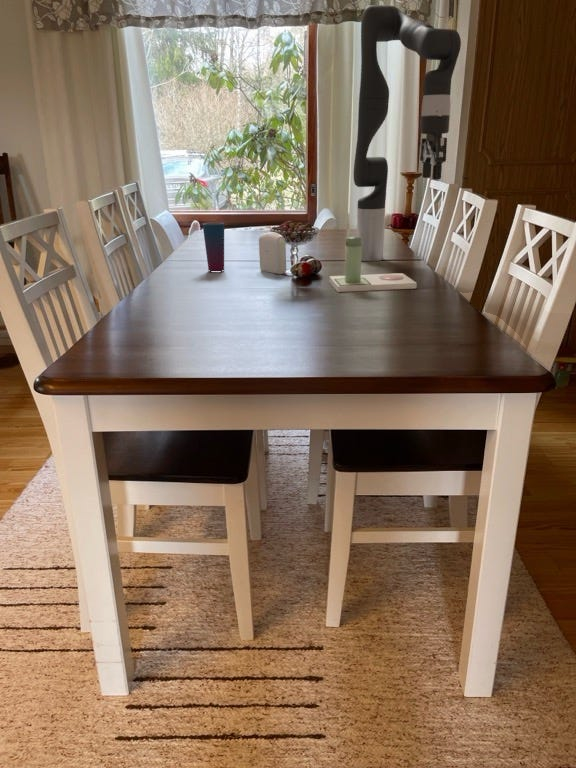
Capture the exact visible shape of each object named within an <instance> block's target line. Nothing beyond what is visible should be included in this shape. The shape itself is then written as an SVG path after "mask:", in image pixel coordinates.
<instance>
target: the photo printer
mask: <svg viewBox="0 0 576 768" xmlns="http://www.w3.org/2000/svg"><path fill="white" fill-rule="evenodd" d="M286 248H287V246H286V239H285V237H284V236H283V235H281V234H280V233H277V232H275V231H274V232H273V231H269V232H264V233H261V234H260V236H259V238H258V251H259V268H260V271H263V272H268V273H273V274H276V275H283V274H286V272H287V252H286V251H287V249H286Z"/></svg>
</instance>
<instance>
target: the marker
mask: <svg viewBox="0 0 576 768" xmlns="http://www.w3.org/2000/svg"><path fill="white" fill-rule="evenodd" d="M344 247H345V251H344V252H345V253H344V255H345V256H344V257H345V258H344V259H345V260H344V276H345V282H347V283H359V282H361V275H362V261H361V249H362V237H357V235H356V236H353V235H352V236H346V237H345V245H344Z"/></svg>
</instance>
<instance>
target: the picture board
mask: <svg viewBox="0 0 576 768" xmlns="http://www.w3.org/2000/svg"><path fill="white" fill-rule="evenodd" d="M328 280H329V281H328V282H329V283H330V284H331V286H333V288H334V289H335V290H336V291H337V292H338V293H341V292H343V293H346V292H364V291H385V290H387V291H388V290H409V289H417V284H418V283H417V282H416V281H414V280H413V279H412V278H410V277H409V276H407V275H406V274H405V273H402V272H401V273H400V272H399V273H394V272H393V273H376V274H375V273H374V274H373V273H372V274H361V282H359V283H347V282H345V275H330V276H329V277H328Z"/></svg>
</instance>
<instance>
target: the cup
mask: <svg viewBox="0 0 576 768" xmlns="http://www.w3.org/2000/svg"><path fill="white" fill-rule="evenodd" d="M202 230H203V237H204V244H205V253H206V260H207V267H208V268H207V269H208V271H209V270H210V271H222V270H224V271H225V223H224V222H213V221H212V222H204V223H202Z"/></svg>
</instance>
